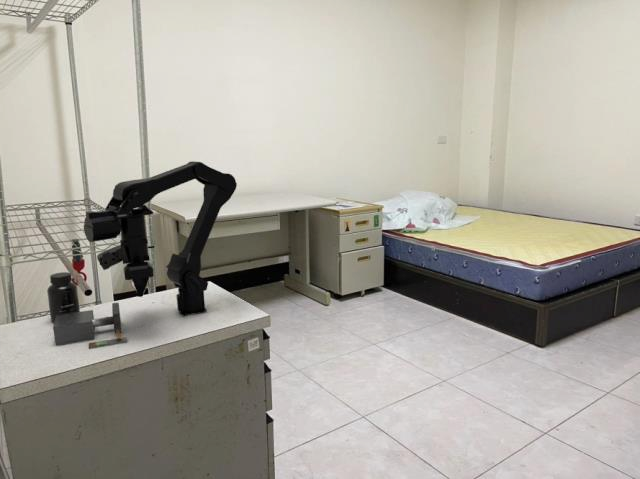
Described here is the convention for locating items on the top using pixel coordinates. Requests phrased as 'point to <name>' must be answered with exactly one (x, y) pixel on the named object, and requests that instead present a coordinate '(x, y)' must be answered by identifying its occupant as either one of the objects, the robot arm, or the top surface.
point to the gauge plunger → (111, 320)
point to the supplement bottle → (62, 295)
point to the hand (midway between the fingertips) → (140, 296)
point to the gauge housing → (79, 330)
